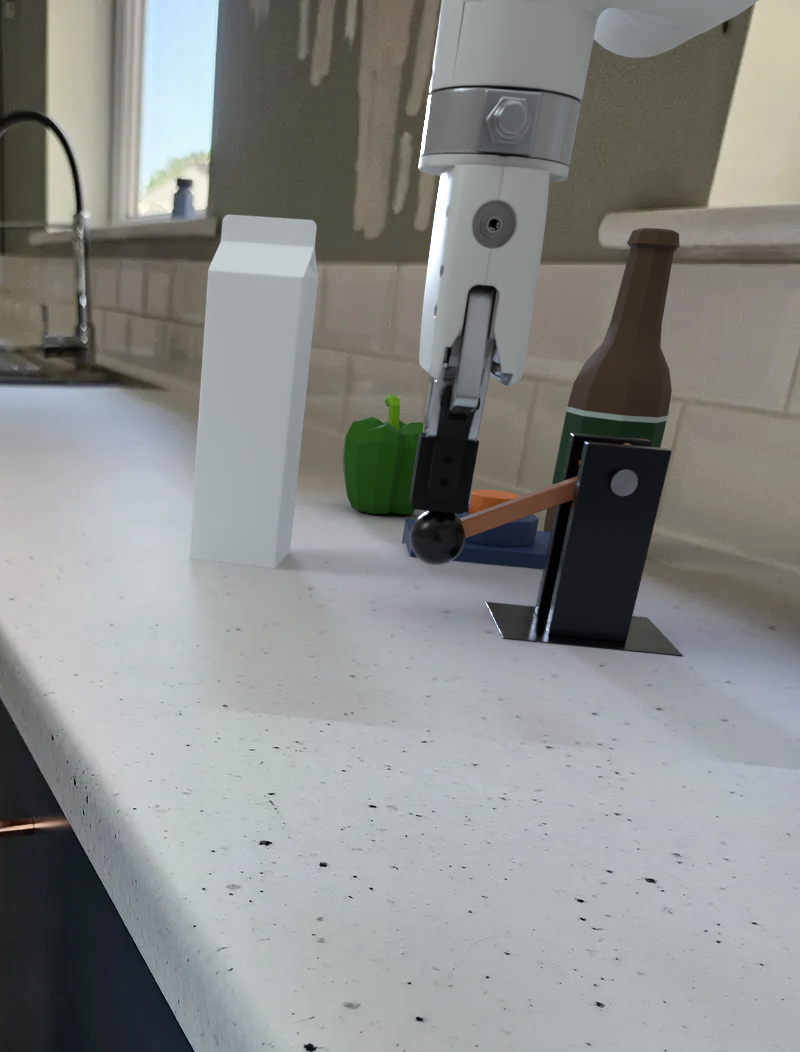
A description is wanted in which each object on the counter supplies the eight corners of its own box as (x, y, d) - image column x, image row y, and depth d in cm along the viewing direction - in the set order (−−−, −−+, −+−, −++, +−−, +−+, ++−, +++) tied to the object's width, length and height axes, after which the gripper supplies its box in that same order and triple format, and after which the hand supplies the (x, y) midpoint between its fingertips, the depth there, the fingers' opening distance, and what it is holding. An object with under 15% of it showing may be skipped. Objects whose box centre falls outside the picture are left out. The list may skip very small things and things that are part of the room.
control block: (553, 560, 89) (563, 509, 87) (575, 588, 81) (587, 532, 79) (401, 546, 90) (408, 495, 88) (407, 572, 82) (416, 516, 80)
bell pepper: (420, 525, 98) (438, 405, 94) (328, 513, 100) (342, 395, 96) (432, 510, 106) (450, 398, 101) (346, 499, 108) (360, 389, 104)
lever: (421, 578, 65) (404, 526, 64) (417, 566, 68) (401, 515, 67) (651, 497, 62) (637, 441, 61) (637, 488, 65) (624, 434, 63)
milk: (208, 557, 82) (232, 217, 73) (290, 567, 81) (325, 223, 71) (186, 575, 76) (210, 210, 67) (274, 586, 75) (310, 216, 66)
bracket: (498, 657, 64) (539, 442, 59) (482, 620, 71) (517, 425, 66) (678, 675, 63) (735, 459, 58) (643, 635, 70) (691, 440, 65)
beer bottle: (655, 555, 94) (733, 234, 84) (593, 561, 90) (667, 225, 80) (582, 535, 100) (646, 233, 89) (521, 540, 96) (581, 224, 86)
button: (513, 515, 85) (517, 492, 85) (520, 524, 82) (524, 500, 81) (465, 511, 86) (469, 488, 85) (470, 520, 82) (474, 496, 82)
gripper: (603, 130, 50) (522, 542, 58) (546, 163, 63) (486, 494, 71) (434, 117, 50) (376, 528, 58) (413, 153, 64) (368, 482, 72)
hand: (437, 508), depth 65 cm, fingers closed
